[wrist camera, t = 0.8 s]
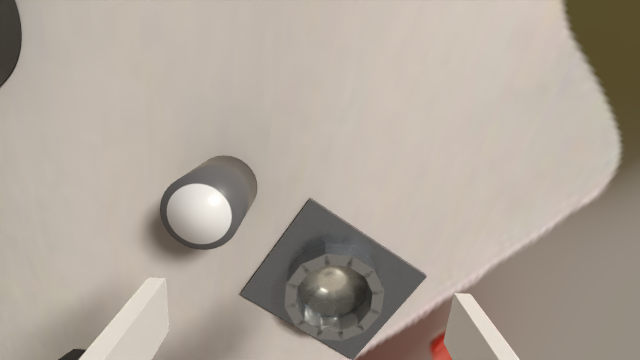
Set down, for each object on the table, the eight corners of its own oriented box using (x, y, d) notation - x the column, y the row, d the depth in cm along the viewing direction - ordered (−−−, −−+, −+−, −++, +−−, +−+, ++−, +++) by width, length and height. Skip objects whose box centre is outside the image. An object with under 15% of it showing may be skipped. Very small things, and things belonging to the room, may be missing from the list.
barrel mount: (241, 291, 38) (235, 308, 35) (310, 197, 35) (309, 207, 32) (352, 356, 41) (355, 377, 38) (425, 274, 38) (434, 289, 35)
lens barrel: (184, 193, 35) (144, 224, 27) (215, 143, 33) (183, 160, 25) (236, 225, 36) (213, 264, 28) (269, 178, 34) (254, 205, 26)
